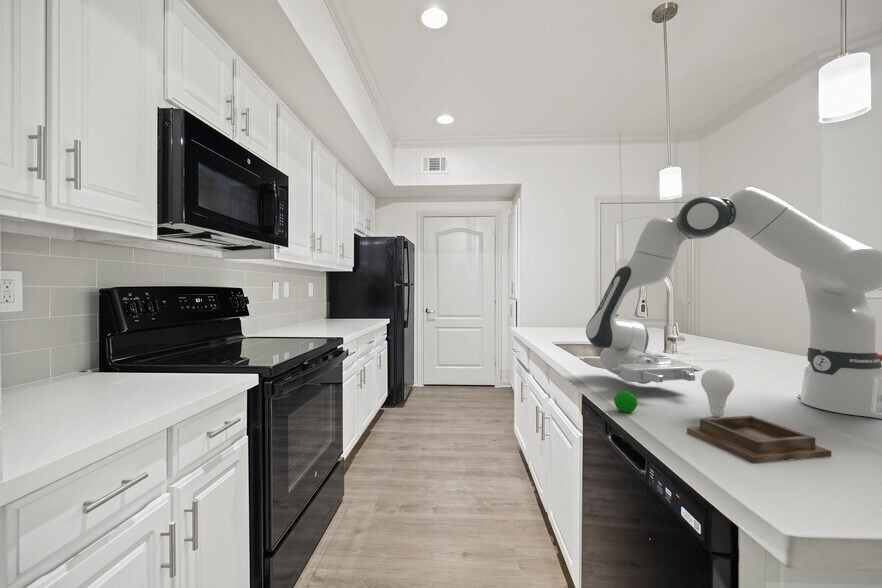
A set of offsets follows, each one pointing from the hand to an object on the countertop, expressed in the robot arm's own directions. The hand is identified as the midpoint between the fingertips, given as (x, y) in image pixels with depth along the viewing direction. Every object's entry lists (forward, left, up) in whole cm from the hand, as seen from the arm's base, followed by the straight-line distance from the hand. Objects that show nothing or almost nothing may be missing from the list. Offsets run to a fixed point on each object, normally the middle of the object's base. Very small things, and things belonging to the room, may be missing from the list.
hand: (676, 378), depth 99 cm
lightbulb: (0, +12, -6) cm, 14 cm away
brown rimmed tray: (+6, +26, -6) cm, 27 cm away
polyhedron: (+18, +5, -6) cm, 20 cm away
